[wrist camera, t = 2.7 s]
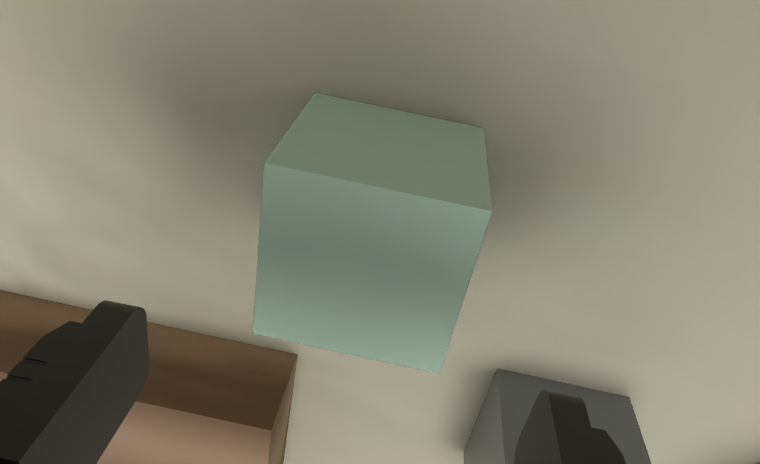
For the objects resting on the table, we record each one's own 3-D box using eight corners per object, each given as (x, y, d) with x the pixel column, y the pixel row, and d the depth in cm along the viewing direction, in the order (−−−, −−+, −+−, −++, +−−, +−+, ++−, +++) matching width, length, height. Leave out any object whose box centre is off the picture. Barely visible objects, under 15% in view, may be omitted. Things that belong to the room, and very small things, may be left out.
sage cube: (315, 91, 16) (264, 163, 12) (484, 127, 16) (492, 211, 12) (299, 234, 19) (252, 333, 15) (444, 264, 19) (439, 373, 15)
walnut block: (4, 283, 22) (-77, 354, 19) (299, 347, 22) (271, 430, 19) (47, 466, 29) (-8, 544, 25) (277, 516, 29) (252, 601, 25)
